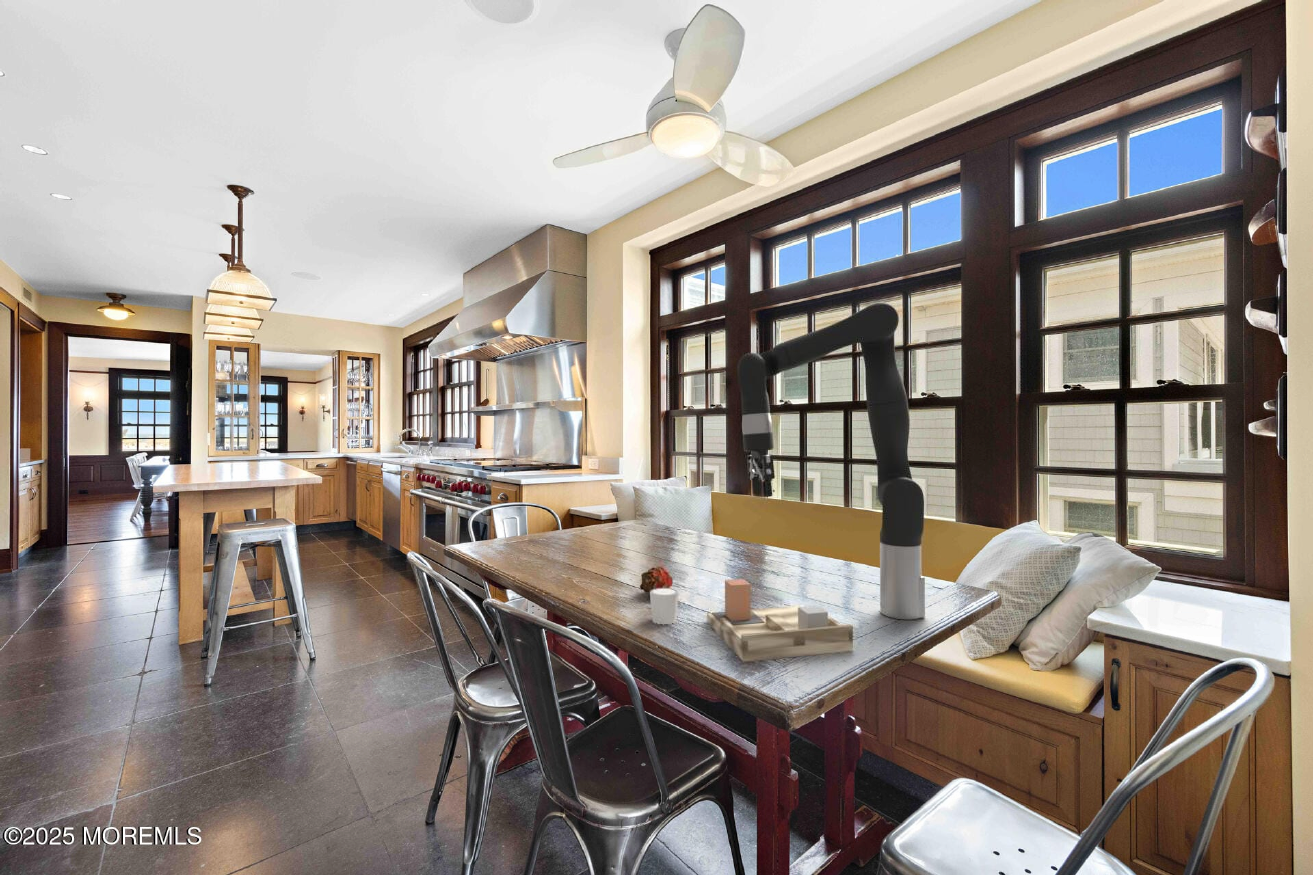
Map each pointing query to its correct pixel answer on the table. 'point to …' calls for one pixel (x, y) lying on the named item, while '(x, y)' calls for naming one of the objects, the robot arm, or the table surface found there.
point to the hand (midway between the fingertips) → (762, 495)
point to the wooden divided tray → (779, 635)
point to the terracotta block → (737, 600)
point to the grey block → (812, 617)
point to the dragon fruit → (655, 579)
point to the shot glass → (664, 605)
